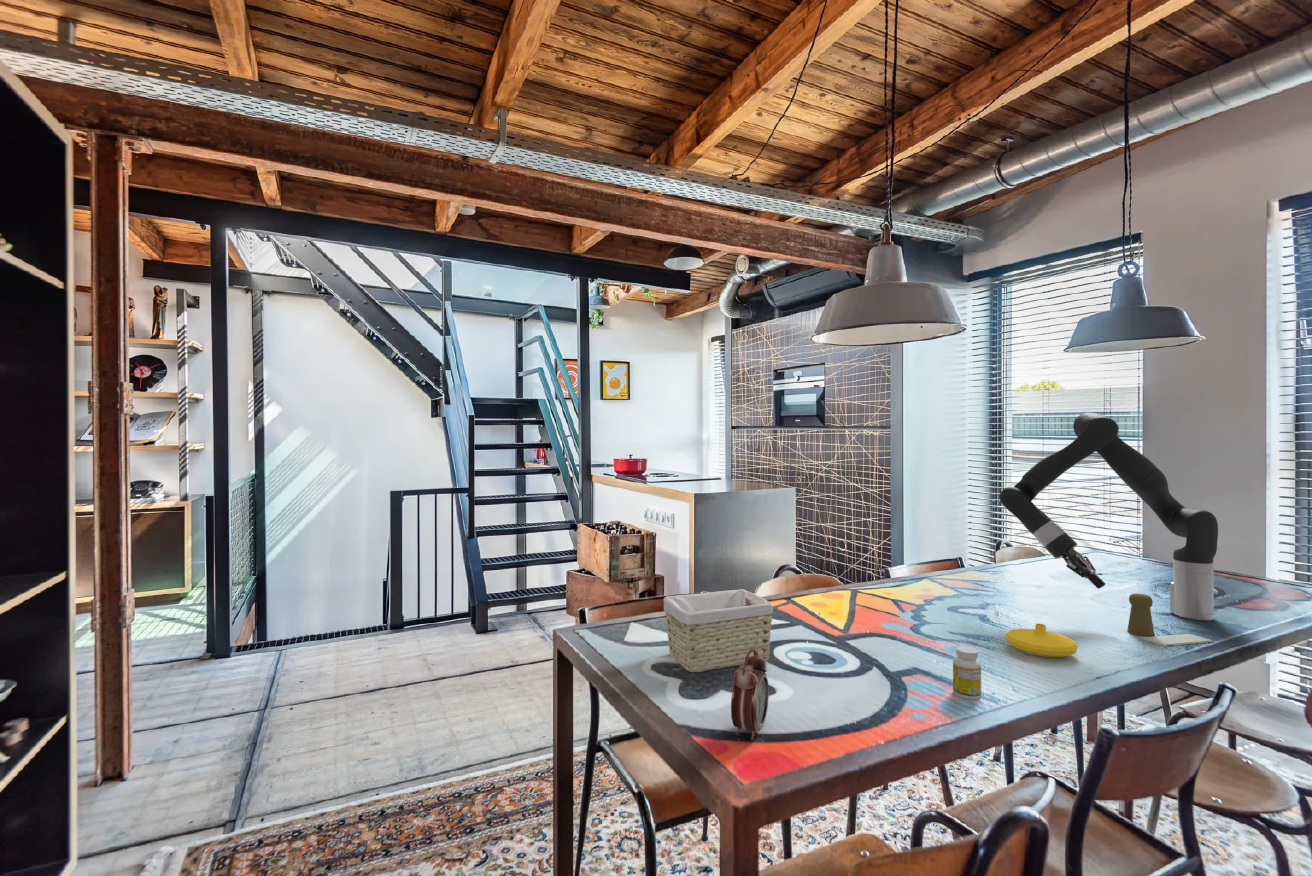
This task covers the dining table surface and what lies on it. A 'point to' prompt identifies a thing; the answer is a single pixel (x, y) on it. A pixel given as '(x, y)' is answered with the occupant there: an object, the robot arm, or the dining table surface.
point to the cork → (1140, 616)
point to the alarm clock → (750, 694)
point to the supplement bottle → (967, 674)
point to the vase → (1041, 642)
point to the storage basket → (717, 628)
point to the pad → (1177, 639)
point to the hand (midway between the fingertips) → (1102, 586)
